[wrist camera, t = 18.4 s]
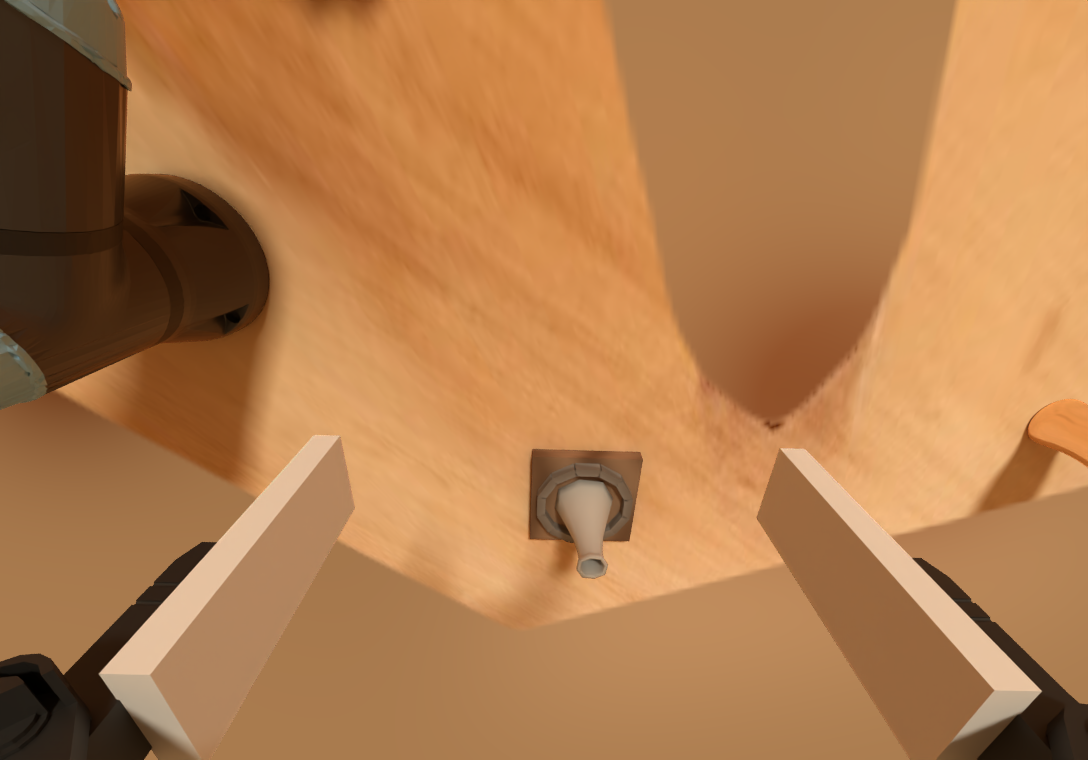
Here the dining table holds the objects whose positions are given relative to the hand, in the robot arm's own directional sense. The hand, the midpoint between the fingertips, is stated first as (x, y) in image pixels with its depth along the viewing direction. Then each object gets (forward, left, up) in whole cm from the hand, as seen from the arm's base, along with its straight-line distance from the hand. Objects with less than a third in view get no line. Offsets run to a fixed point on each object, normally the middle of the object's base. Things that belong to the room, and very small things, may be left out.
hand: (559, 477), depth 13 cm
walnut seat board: (+6, -28, -32) cm, 42 cm away
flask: (+6, -28, -30) cm, 41 cm away
